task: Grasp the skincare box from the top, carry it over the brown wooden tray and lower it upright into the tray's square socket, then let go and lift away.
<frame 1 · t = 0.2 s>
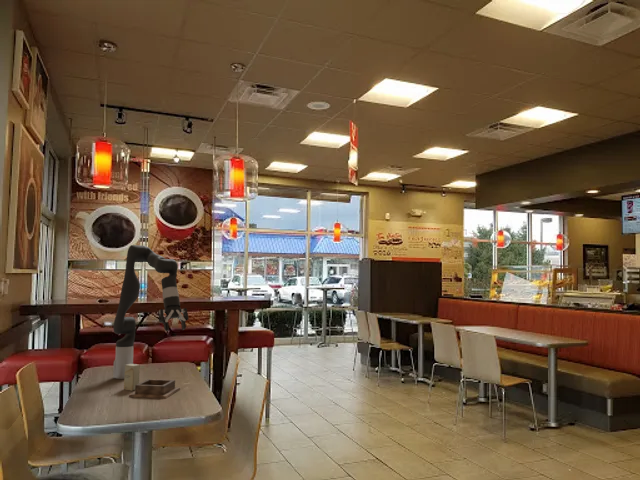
hand: (175, 330, 242), 31 cm above the table, tool tilted 20°, fingers open, 8 cm apart
skincare box: (131, 389, 252), on the table
brown wooden tray: (155, 393, 245), on the table
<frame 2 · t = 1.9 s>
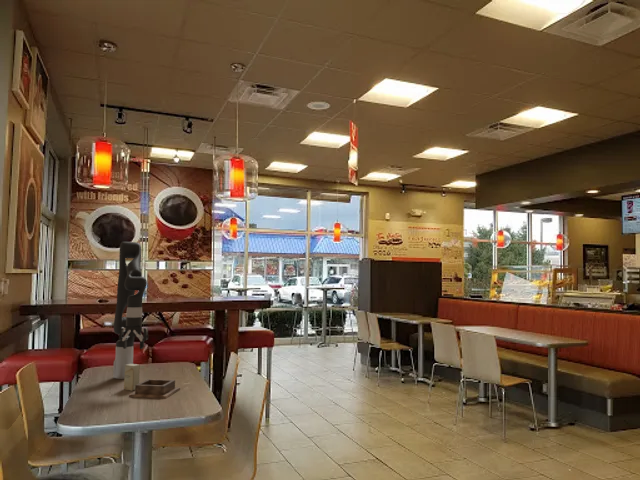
hand: (133, 348, 254), 20 cm above the table, tool pointing down, fingers open, 8 cm apart
nothing on the table moved.
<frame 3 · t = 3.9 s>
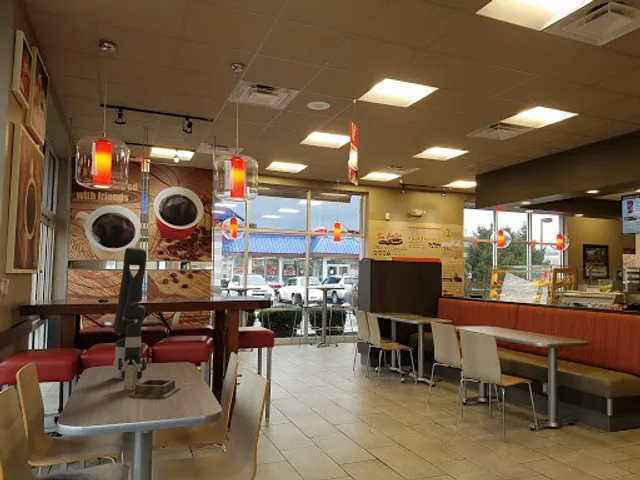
hand: (131, 378, 252), 5 cm above the table, tool pointing down, fingers closed on skincare box, 7 cm apart
skincare box: (131, 389, 252), on the table, touching gripper
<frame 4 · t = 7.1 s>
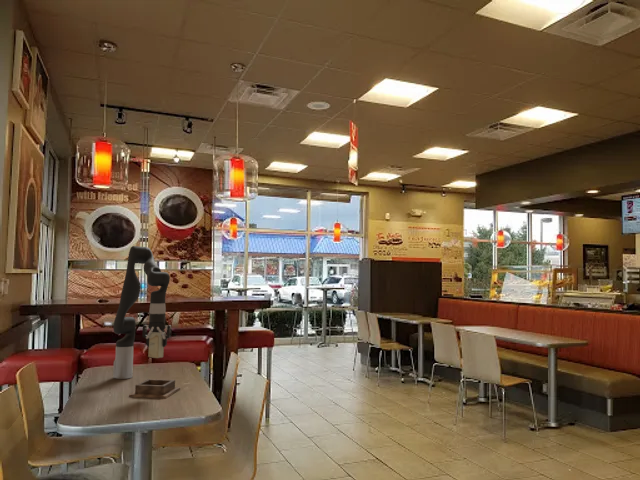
hand: (156, 346, 246), 22 cm above the table, tool pointing down, fingers closed on skincare box, 7 cm apart
skincare box: (156, 357, 246), point 17 cm above the table, touching gripper
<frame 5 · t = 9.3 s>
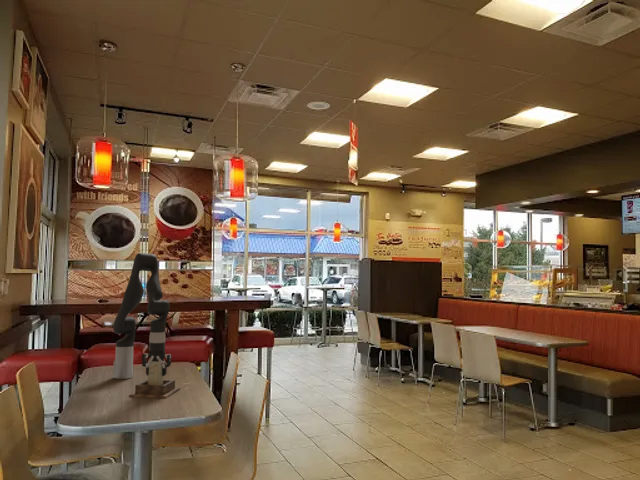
hand: (156, 375, 245), 8 cm above the table, tool pointing down, fingers closed on skincare box, 7 cm apart
skincare box: (155, 386, 245), point 3 cm above the table, touching gripper
when the fingers open (7 cm above the table, at t = 10.5 s): skincare box drops 1 cm, resting on brown wooden tray.
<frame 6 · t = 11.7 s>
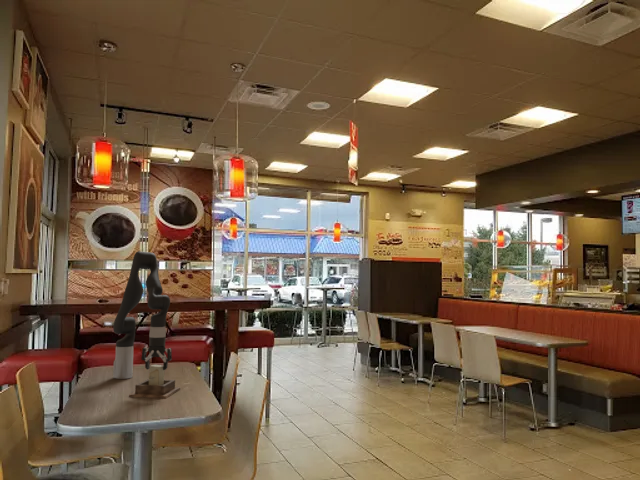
hand: (156, 369, 246), 11 cm above the table, tool pointing down, fingers open, 8 cm apart
skincare box: (156, 391, 245), point 1 cm above the table, touching gripper, brown wooden tray
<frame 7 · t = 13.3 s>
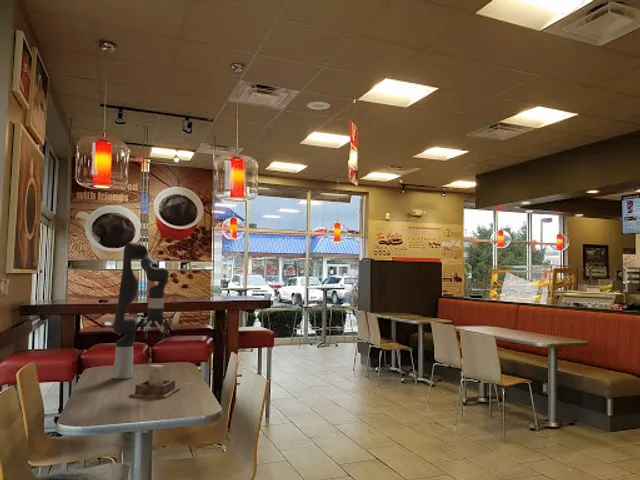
hand: (153, 339, 255), 25 cm above the table, tool pointing down, fingers open, 8 cm apart
skincare box: (156, 391, 245), point 1 cm above the table, touching brown wooden tray
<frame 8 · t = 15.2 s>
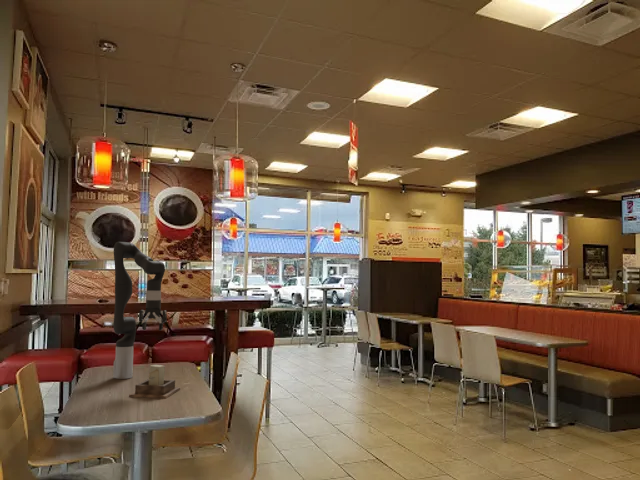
hand: (152, 330, 265), 28 cm above the table, tool pointing down, fingers open, 8 cm apart
nothing on the table moved.
at the end: skincare box inside the target area on the brown wooden tray (0.3 cm from its centre), point 0.8 cm above the brown wooden tray's base; skincare box tilted 0°; the gripper is holding nothing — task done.
